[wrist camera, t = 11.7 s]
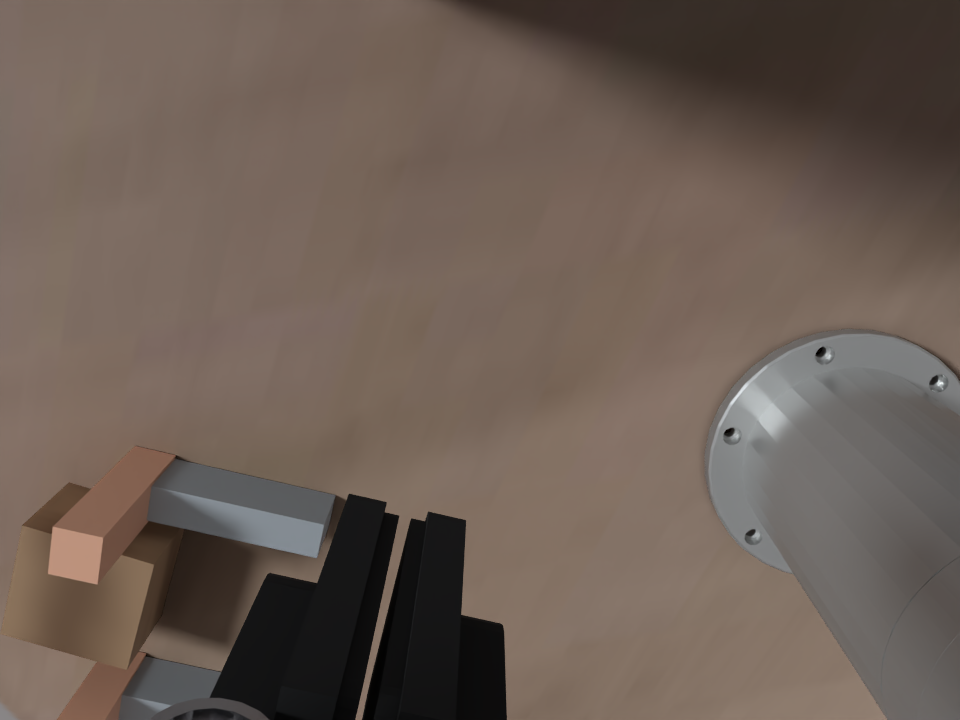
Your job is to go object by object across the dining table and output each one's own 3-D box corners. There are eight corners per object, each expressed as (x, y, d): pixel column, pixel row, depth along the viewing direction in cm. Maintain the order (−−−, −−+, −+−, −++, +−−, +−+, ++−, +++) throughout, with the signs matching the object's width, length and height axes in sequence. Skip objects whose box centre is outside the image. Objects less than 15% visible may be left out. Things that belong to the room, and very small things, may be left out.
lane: (336, 491, 41) (301, 581, 33) (287, 717, 45) (246, 843, 37) (135, 446, 40) (52, 526, 33) (103, 679, 44) (24, 798, 37)
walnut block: (188, 517, 42) (154, 564, 37) (162, 613, 43) (126, 669, 39) (70, 481, 41) (22, 525, 37) (49, 580, 43) (0, 633, 39)
